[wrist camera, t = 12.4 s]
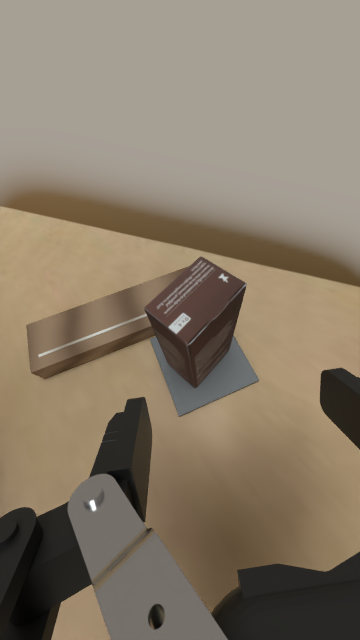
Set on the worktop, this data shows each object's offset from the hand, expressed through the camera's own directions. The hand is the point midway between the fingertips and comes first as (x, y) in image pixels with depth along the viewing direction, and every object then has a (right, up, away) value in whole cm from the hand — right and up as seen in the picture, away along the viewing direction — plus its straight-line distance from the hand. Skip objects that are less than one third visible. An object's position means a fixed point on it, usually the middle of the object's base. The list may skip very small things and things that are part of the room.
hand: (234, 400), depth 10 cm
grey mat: (0, -1, +15) cm, 15 cm away
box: (-1, -1, +15) cm, 15 cm away
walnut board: (-9, +3, +18) cm, 21 cm away
